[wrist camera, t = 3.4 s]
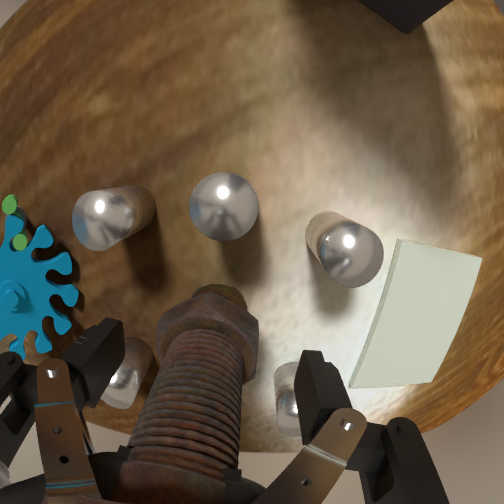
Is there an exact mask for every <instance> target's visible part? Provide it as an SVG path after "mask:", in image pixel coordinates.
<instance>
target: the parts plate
mask: <svg viewBox="0 0 504 504" xmlns="http://www.w3.org/2000/svg"><path fill="white" fill-rule="evenodd" d="M481 261H482V258H480V257H478V256H474V255H470V254H466V253H462V252H458V251H453V250H449V249H444V248H440V247H435V246H431V245H426V244H421V243H417V242H412V241H407V240H402V239H397V243H396V247H395V251H394V255H393V259H392V263H391V266H390V270H389V274H388V277H387V281H386V284H385V287H384V291H383V294H382V297H381V300H380V303H379V306H378V309H377V312H376V315H375V318H374V321H373V324H372V327H371V330H370V332H369V335H368V338H367V340H366V343H365V346H364V348H363V351H362V353H361V356H360V358H359V361H358V363H357V365H356V368H355V370H354V372H353V375H352V377H351V379H350V382H349V384H350V387H351V388H367V387H386V386H400V385H411V384H420V383H428V382H432V380H433V378H434V376H435V374H436V373H437V371H438V369H439V367H440V365H441V363H442V361H443V359H444V357H445V355H446V353H447V351H448V349H449V347H450V345H451V343H452V340H453V338H454V336H455V334H456V332H457V329H458V327H459V325H460V322H461V320H462V317H463V315H464V312H465V310H466V307H467V304H468V302H469V299H470V296H471V293H472V290H473V287H474V284H475V281H476V278H477V275H478V271H479V268H480V265H481Z"/></svg>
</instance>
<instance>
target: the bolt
mask: <svg viewBox="0 0 504 504" xmlns="http://www.w3.org/2000/svg"><path fill="white" fill-rule="evenodd" d="M242 297H243V296H242V294H241V293H240V292H239V291H238V290H237V289H236V288H235V287H228V286H225V285H221V284H210V285H208V286H205V287H202V288H198V289H197V290H196V292H195V293H194V294H193V296H192V298H190V299H188V300H186V301H184V302H182V303H180V304H178V305H176V306H174V307H172V308H171V309H169V310H167V311H166V312H164V313H163V315H162V317H161V318H160V320H159V322H158V323H157V353H158V357H159V362H160V364H161V367H160V369H159V372H158V374H157V376H156V378H155V381H154V383H153V385H152V387H151V390H150V392H149V395H148V396H147V399H146V400H145V404H144V406H143V408H142V412H141V413H140V415H139V419H138V421H137V422H136V426H135V428H134V429H133V431H132V436H131V437H130V440H129V443H128V445H127V446H126V447H128V448H131V451H130V455H129V456H128V458H127V459H128V460H126V461H125V462H123V464H122V467H121V470H120V472H119V475H118V478H117V480H116V483H115V486H114V489H113V491H112V494H111V497H110V500H105V499H99V498H94V497H89V496H85V495H79V498H78V500H77V502H76V504H224V503H225V486H226V484H225V483H224V481H223V480H224V474H223V472H222V471H221V469H224V468H229V469H238V468H237V467H238V455H239V439H240V434H239V432H240V421H241V419H240V418H241V400H242V399H241V395H242V385H244V384H245V383H247V382H249V381H250V380H252V379H253V378H254V377H255V371H256V362H257V352H258V337H259V327H258V320H257V319H256V318H255V317H253V316H252V315H251V314H250V313H248V312H247V311H246V302H245V301H244V300H242V299H243V298H242ZM222 479H223V480H222ZM41 504H49V502H48V499H47V495H45V497H44V499H43V501H42V503H41Z"/></svg>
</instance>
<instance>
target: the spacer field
mask: <svg viewBox="0 0 504 504" xmlns="http://www.w3.org/2000/svg"><path fill="white" fill-rule="evenodd" d="M189 209H190V215H191V218H192V221H193V223H194V225H195V226H196V228H197V229H198V230H199V231H200V232H201V233H202V234H204V235H205V236H207V237H209V238H211V239H214V240H218V241H230V240H234V239H237V238H239V237H241V236H243V235H244V234H246V233H247V232H248V231H249V230H250V229H251V227H252V226H253V225H254V223H255V221H256V218H257V215H258V199H257V193H256V189H255V187H254V185H253V184H252V182H251V181H250V180H249V179H248V178H246V177H245V176H243V175H240V174H236V173H226V172H222V173H215V174H212V175H210V176H208V177H206V178H204V179H203V180H202V181H200V182H199V183H198V185H197V186H196V187H195V189H194V190H193V193H192V195H191V198H190V205H189ZM154 215H155V201H154V198H153V196H152V195H151V193H150V192H149V191H148V190H147V189H146V188H144V187H142V186H138V185H132V186H124V187H117V188H110V189H103V190H97V191H91V192H88V193H85V194H84V195H82V196H81V197H80V198H79V199H78V201H77V202H76V204H75V206H74V209H73V214H72V224H73V229H74V232H75V234H76V236H77V238H78V240H79V241H80V242H81V243H82V244H83V245H84V246H85V247H87V248H88V249H90V250H94V251H102V250H105V249H107V248H109V247H111V246H113V245H115V244H116V243H118V242H120V241H122V240H123V239H125V238H127V237H129V236H131V235H133V234H134V233H136V232H138V231H140V230H142V229H144V228H145V227H147V226H148V225H149V224H150V223H151V222H152V220H153V218H154ZM306 242H307V244H308V246H309V248H310V249H311V251H312V252H313V254H314V255H315V256H316V258H317V259H318V260H319V262H320V263H321V265H322V266H323V267H324V269H325V270H326V271H327V273H328V274H329V276H330V277H331V278H332V280H334V281H335V282H336V283H337V284H339V285H341V286H343V287H348V288H355V287H360V286H362V285H365V284H366V283H368V282H370V281H371V280H372V279H373V278H374V277H375V276H376V275H377V273H378V272H379V270H380V268H381V265H382V262H383V256H384V251H383V246H382V243H381V241H380V239H379V237H378V236H377V235H376V234H375V233H374V232H373V231H371V230H370V229H368V228H366V227H364V226H362V225H360V224H358V223H356V222H354V221H352V220H350V219H348V218H346V217H344V216H342V215H340V214H338V213H336V212H330V211H327V212H322V213H320V214H318V215H316V216H315V217H313V218H312V220H311V221H310V222H309V224H308V226H307V229H306ZM124 341H125V357H124V360H123V362H122V364H121V365H120V367H119V368H118V370H117V372H116V373H115V375H114V376H113V378H112V380H111V381H110V383H109V385H108V386H107V388H106V390H105V391H104V393H103V395H102V396H101V399H102V400H103V401H104V402H106V403H107V404H109V405H111V406H113V407H115V408H119V409H126V408H129V407H130V406H131V405H132V403H133V401H134V398H135V396H136V394H137V392H138V390H139V388H140V386H141V384H142V382H143V380H144V378H145V375H146V373H147V371H148V369H149V367H150V365H151V363H152V361H153V352H152V350H151V348H150V347H149V346H148V345H147V344H146V343H145V342H144V341H142V340H140V339H138V338H135V337H127V338H125V339H124ZM298 365H299V362H290V363H286V364H284V365H282V366H280V367H279V368H278V369H277V370H276V371H275V373H274V387H275V398H276V410H277V421H278V429H279V430H280V431H281V432H282V433H283V434H285V435H289V436H301V430H300V424H299V417H298V411H297V405H296V399H295V393H294V378H295V374H296V371H297V368H298Z"/></svg>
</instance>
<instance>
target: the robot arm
mask: <svg viewBox="0 0 504 504" xmlns="http://www.w3.org/2000/svg"><path fill="white" fill-rule="evenodd" d="M124 357H125V341H124V330H123V323H122V321H119V320H115V319H111V318H107V317H106V318H105V319H104V320H103V321H102V322H101V323H100V324H99V325H98V326H96V325H94V326H92V327H90V328H88V329H86V330H85V331H84V332H83V333H82V334H81V335H80V337H78V338H77V339H76V340H75V342H74V343H73V344H72V345H71V346H70V347H69V348H68V349H67V350H66V351H65V352H64V353H63V355H62V356H61V357H60V358H59V359H57V358H50V359H46V360H44V361H42V362H41V363H40V364H39V365H38V366H34V365H28V364H24V362H23V360H22V357H21V355H20V354H18V353H16V352H13V351H9V352H4V353H2V354H0V407H1V405H2V404H3V402H4V401H5V400H6V398H7V397H8V396H10V397H11V401H10V402H9V404H8V405H7V406H6V408H5V409H4V410H3V412H2V413H1V415H0V504H41V503H42V501H43V499H44V497H45V495H47V499H48V502H49V504H76V502H77V500H78V498H79V495H85V496H89V497H94V498H99V499H105V500H110V497H111V494H112V491H113V489H114V486H115V483H116V480H117V478H118V475H119V472H120V470H121V467H122V464H123V462H125V461H126V460H128V459H127V458H128V456H129V455H130V451H131V448H128V447H124V446H121V445H120V446H119V449H118V451H117V452H100V453H96V452H95V449H94V447H93V444H92V441H91V438H90V435H89V432H88V428H87V425H86V421H85V417H84V414H83V411H82V409H83V408H84V406H85V405H86V406H89V407H91V408H95V406H96V405H97V403H98V401H99V400H100V398H101V396H102V395H103V393H104V391H105V390H106V388H107V386H108V385H109V383H110V381H111V380H112V378H113V376H114V375H115V373H116V372H117V370H118V368H119V367H120V365H121V364H122V362H123V360H124ZM294 393H295V399H296V405H297V411H298V417H299V424H300V430H301V436H302V443H303V445H306V446H305V447H304V448H303V449H302V450H301V451H300V453H299V454H298V455H297V456H296V457H295V458H294V460H293V461H292V462H291V463H290V464H289V465H288V466H287V467H286V469H285V470H284V471H283V472H282V473H281V474H280V475H279V476H278V477H277V478H276V479H275V480H274V481H273V482H272V483H271V485H269V487H268V488H267V489H266V488H265V487H263V486H262V485H260V484H258V483H256V482H254V481H251V480H249V479H246V478H243V477H241V473H242V472H241V470H240V469H229V468H224V469H221V471H222V472H223V474H224V480H223V479H222V480H223V481H224V483H225V484H226V486H225V503H224V504H321V503H322V501H323V500H324V499H325V498H326V496H327V495H328V493H329V492H330V490H331V489H332V488H333V486H334V485H335V483H336V482H337V480H338V478H339V477H340V475H341V474H342V472H343V471H344V469H347V470H353V471H359V475H360V479H361V484H362V489H363V494H364V499H365V504H449V501H448V498H447V496H446V493H445V491H444V488H443V485H442V483H441V480H440V478H439V475H438V473H437V470H436V468H435V465H434V463H433V461H432V458H431V456H430V454H429V451H428V449H427V447H426V445H425V442H424V440H423V438H422V436H421V433H420V431H419V429H418V427H417V425H416V424H415V423H414V422H413V421H411V420H410V419H407V418H404V417H396V418H393V419H391V420H390V421H389V422H388V424H387V425H381V424H375V423H370V422H367V420H366V418H365V416H364V415H363V414H362V413H360V412H359V411H357V410H355V409H353V408H352V405H351V402H350V400H349V397H348V394H347V392H346V389H345V386H344V384H343V381H342V379H341V376H340V373H339V371H338V369H337V368H336V367H335V366H334V365H333V364H332V363H331V362H325V361H324V358H323V355H322V352H321V351H315V350H303V352H302V354H301V358H300V361H299V365H298V368H297V371H296V374H295V378H294ZM34 422H36V430H37V437H38V444H39V450H40V455H41V461H42V465H43V470H44V474H41V475H38V476H35V477H32V478H29V479H26V480H23V481H20V482H17V483H13V484H11V482H10V481H9V471H8V468H9V466H10V464H11V462H12V460H13V458H14V456H15V454H16V453H17V451H18V449H19V447H20V445H21V444H22V442H23V441H24V439H25V437H26V435H27V434H28V432H29V430H30V428H31V427H32V425H33V424H34Z"/></svg>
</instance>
